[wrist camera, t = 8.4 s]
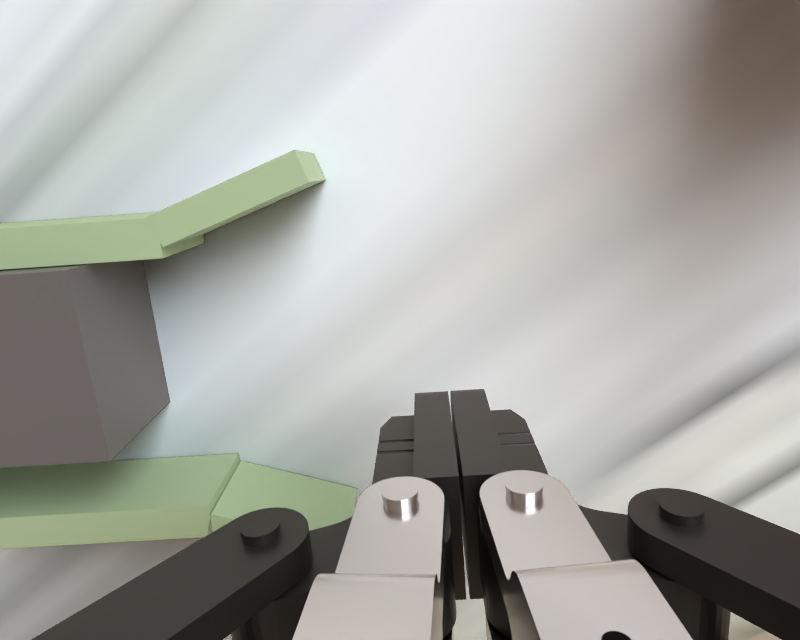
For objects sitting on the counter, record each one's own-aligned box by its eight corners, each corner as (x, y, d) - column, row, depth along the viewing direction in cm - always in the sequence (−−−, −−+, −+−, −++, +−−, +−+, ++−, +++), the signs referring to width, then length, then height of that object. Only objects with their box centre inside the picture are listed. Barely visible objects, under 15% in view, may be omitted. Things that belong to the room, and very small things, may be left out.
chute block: (143, 247, 17) (65, 270, 13) (172, 399, 18) (110, 461, 14) (-81, 263, 17) (-222, 290, 13) (-37, 412, 18) (-153, 477, 15)
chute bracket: (323, 152, 16) (305, 148, 13) (359, 508, 19) (351, 568, 16) (-146, 187, 16) (-264, 191, 13) (-37, 531, 19) (-114, 594, 16)
